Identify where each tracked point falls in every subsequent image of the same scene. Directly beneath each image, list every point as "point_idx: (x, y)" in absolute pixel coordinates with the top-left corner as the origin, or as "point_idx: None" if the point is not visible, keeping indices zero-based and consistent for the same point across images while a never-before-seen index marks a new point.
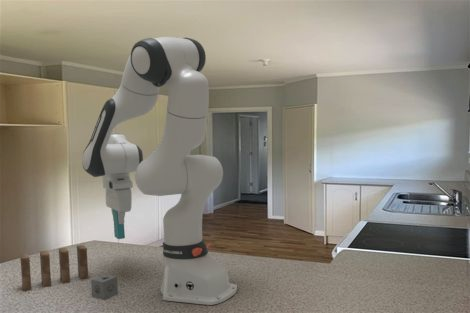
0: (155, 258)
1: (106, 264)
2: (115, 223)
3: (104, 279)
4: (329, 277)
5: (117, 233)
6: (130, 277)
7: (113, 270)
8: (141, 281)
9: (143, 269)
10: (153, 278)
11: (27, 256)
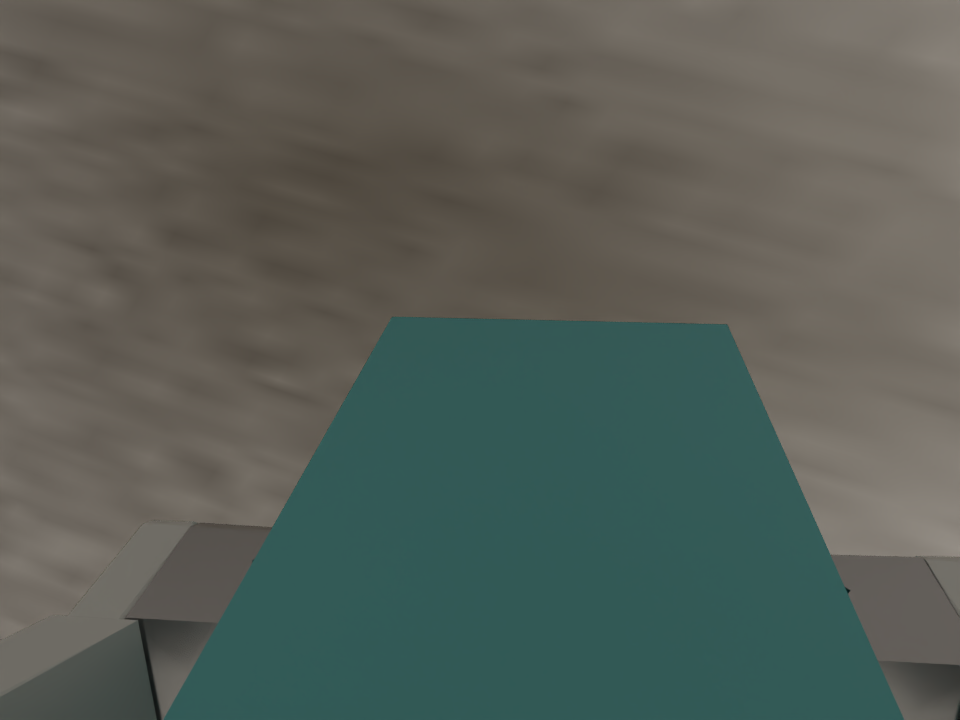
0: None
1: (934, 101)
2: (557, 490)
3: None
4: None
5: (414, 364)
6: (206, 219)
7: (586, 118)
8: (29, 276)
9: None
10: (66, 399)
11: None
